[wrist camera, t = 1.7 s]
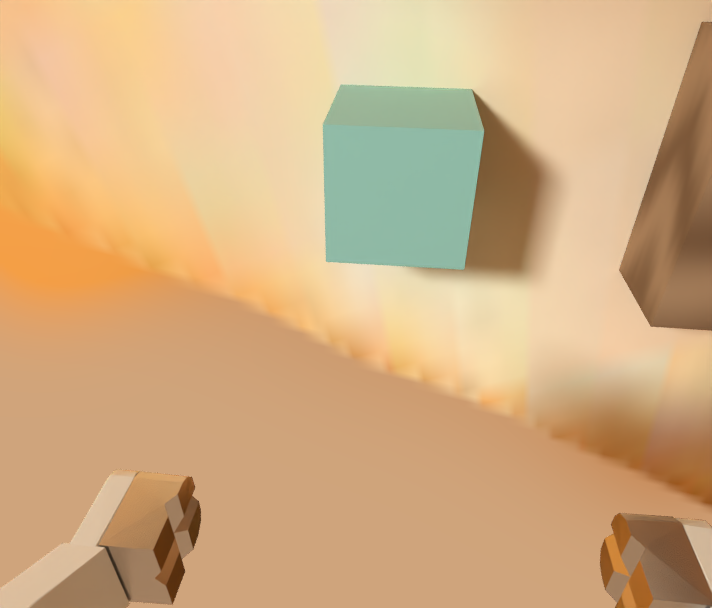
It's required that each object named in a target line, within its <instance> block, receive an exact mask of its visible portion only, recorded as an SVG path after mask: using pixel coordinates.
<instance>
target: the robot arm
mask: <svg viewBox="0 0 712 608" xmlns="http://www.w3.org/2000/svg"><path fill="white" fill-rule="evenodd" d="M194 490H195V485H194V482H193V478H192V477H189V476H179V475H170V474H161V473H151V472H142V471H133V470H122V469H116V470H115V471H114V472H113V473H112V474H111V475H109V476H108V478H107V480H106V482H105V483H104V485H103V487H102V488H101V490H100V492H99V494H98V495H97V497H96V499H95V501H94V502H93V504H92V506H91V508H90V509H89V511H88V513H87V514H86V516H85V518H84V520H83V521H82V523H81V525H80V527H79V528H78V530H77V532H76V534H75V535H74V537H73V539H72V541H71V542H70V543H62V544H60V545H59V546H58V547H56V548H55V549H54V550H52V551H51V552H49V553H48V554H47V555H45V556H44V557H43V558H41V559H40V560H38V561H37V562H36V563H34V564H33V565H31V566H30V567H29V568H27V569H26V570H25V571H23V572H22V573H21V574H19V575H18V576H16V577H15V578H14V579H12V580H11V581H10V582H8V583H7V584H5V585H4V586H3V587H1V588H0V608H126V607H128V606H129V604H130V603H129V601H131V602H143V603H157V604H170V605H172V604H173V602H174V600H175V597H176V594H177V592H178V589H179V586H180V584H181V581H182V579H183V576H184V573H185V569H184V566H183V562H182V559H183V558H184V557H185V556H186V555H187V554H189V553H190V552H191V551H192V550H193V549H194V546H195V543H196V540H197V537H198V534H199V528H200V523H201V508H200V504H199V501H198V500H196V499H195V498H194V497H193V496H192V494H193V492H194ZM611 526H612V529H613V533H614V534H612V535H610V536H608V537H606V538H605V539H604V542H603V545H602V548H601V554H600V567H601V575H602V579H603V583H604V587H605V590H606V591H607V592H608V593H609V595H610V596H611V597H612V598H613V599H614V600H615V601H616V602H617V605H616V607H615V608H712V527H711V525H709V523H708V522H707V521H704V520H699V519H683V518H673V517H668V516H655V515H641V514H627V513H619V514H617V515H615V517H614V519H613V521H612V523H611Z"/></svg>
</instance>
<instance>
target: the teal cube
mask: <svg viewBox="0 0 712 608" xmlns="http://www.w3.org/2000/svg"><path fill="white" fill-rule="evenodd" d="M483 137H484V128H483V125H482V121H481V118H480V115H479V111H478V108H477V105H476V101H475V98H474V95H473V91H472V89H449V88H420V87H392V86H364V85H341V86H340V88H339V90H338V92H337V95H336V97H335V99H334V101H333V103H332V106H331V108H330V110H329V112H328V114H327V117H326V119H325V121H324V123H323V149H324V193H325V236H326V262H339V263H357V264H374V265H392V266H409V267H426V268H444V269H461V270H464V268H465V261H466V254H467V247H468V240H469V233H470V226H471V219H472V212H473V206H474V199H475V192H476V185H477V178H478V171H479V164H480V157H481V150H482V144H483Z"/></svg>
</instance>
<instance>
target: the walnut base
mask: <svg viewBox="0 0 712 608" xmlns="http://www.w3.org/2000/svg"><path fill="white" fill-rule="evenodd" d="M619 271H620V272H621V274H622V276H623V278H624V280H625V281H626V283H627V285H628V287H629V288H630V290H631V292H632V294H633V296H634V297H635V299H636V301H637V303H638V304H639V306H640V308H641V310H642V312H643V313H644V315H645V317H646V319H647V321H648V322H649V324H650V326H651V327H667V328H683V329H698V330H712V22H702V23H701V26H700V29H699V32H698V35H697V38H696V41H695V44H694V47H693V50H692V53H691V56H690V59H689V62H688V65H687V68H686V71H685V74H684V77H683V80H682V83H681V86H680V89H679V92H678V95H677V98H676V101H675V104H674V107H673V110H672V113H671V116H670V119H669V122H668V125H667V128H666V131H665V134H664V137H663V140H662V143H661V146H660V149H659V152H658V155H657V158H656V161H655V164H654V167H653V170H652V173H651V176H650V179H649V182H648V185H647V188H646V191H645V194H644V197H643V200H642V203H641V206H640V209H639V212H638V215H637V218H636V221H635V224H634V227H633V230H632V233H631V236H630V239H629V242H628V245H627V248H626V251H625V254H624V257H623V260H622V263H621V266H620V269H619Z"/></svg>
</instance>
